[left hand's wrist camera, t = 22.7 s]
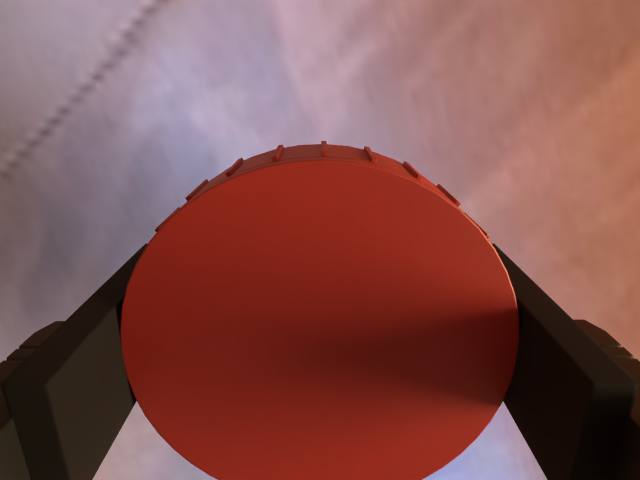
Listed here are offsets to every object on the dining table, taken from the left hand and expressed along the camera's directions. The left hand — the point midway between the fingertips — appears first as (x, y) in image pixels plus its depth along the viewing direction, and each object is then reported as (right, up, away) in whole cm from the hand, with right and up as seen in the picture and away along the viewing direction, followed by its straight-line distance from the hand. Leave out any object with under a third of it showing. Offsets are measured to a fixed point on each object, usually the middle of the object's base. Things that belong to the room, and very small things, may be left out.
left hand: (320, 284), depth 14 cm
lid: (0, -1, -3) cm, 4 cm away
